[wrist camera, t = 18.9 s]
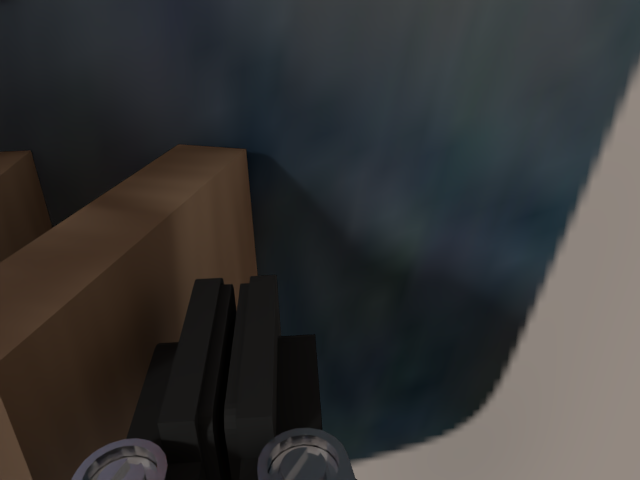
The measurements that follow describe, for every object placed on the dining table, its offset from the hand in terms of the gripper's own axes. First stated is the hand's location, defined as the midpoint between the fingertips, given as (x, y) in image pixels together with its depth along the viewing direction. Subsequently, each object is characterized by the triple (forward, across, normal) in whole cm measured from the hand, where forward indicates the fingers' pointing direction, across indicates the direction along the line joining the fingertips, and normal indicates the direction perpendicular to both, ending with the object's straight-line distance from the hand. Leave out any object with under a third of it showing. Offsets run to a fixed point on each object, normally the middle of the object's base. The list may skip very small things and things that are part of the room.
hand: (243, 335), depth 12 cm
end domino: (+5, +1, 0) cm, 5 cm away
